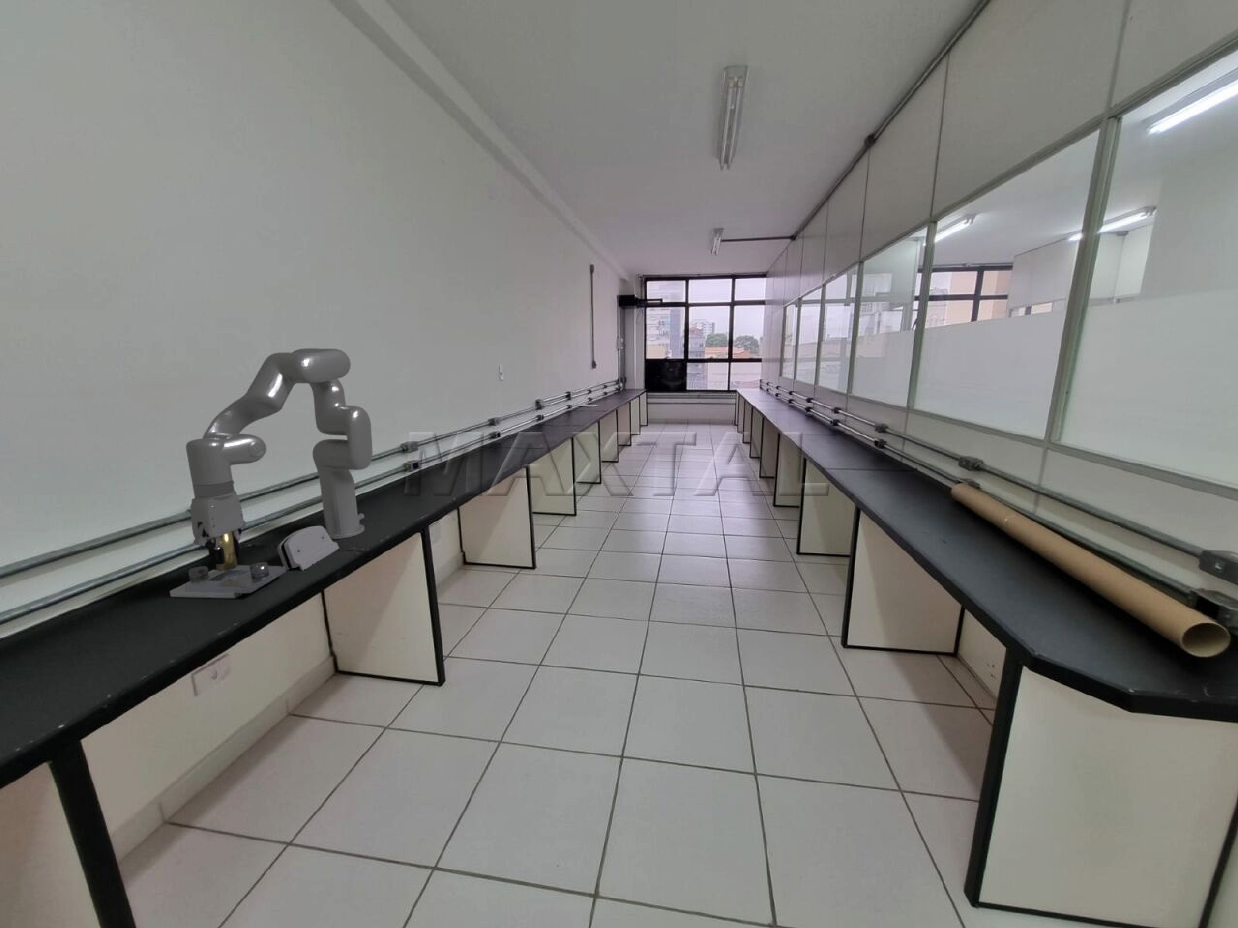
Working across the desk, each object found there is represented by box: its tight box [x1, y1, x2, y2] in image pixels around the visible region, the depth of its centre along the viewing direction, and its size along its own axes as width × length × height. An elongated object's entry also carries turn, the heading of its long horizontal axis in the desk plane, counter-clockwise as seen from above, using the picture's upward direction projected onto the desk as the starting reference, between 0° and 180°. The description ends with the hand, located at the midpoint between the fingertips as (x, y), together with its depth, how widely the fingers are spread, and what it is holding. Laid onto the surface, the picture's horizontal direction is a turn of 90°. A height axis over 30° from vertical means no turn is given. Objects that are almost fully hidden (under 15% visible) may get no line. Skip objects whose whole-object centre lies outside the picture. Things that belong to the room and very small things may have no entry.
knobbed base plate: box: [169, 561, 287, 599], centre depth 120 cm, size 12×20×6 cm, turn 88°
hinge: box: [276, 525, 340, 571], centre depth 137 cm, size 17×5×10 cm, turn 177°
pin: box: [211, 531, 238, 571], centre depth 118 cm, size 4×4×10 cm
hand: (226, 559), depth 119 cm, fingers closed on pin, 4 cm apart
